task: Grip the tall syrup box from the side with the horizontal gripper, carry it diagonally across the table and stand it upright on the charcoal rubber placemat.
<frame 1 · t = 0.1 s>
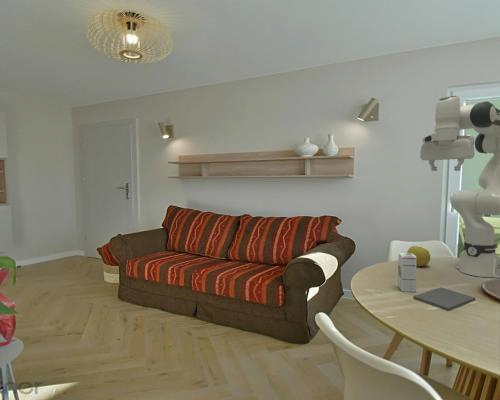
hand: (445, 170, 137), 48 cm above the table, tool pointing down, fingers open, 8 cm apart
syrup box: (406, 289, 136), on the table
placemat: (444, 299, 125), on the table
fruit: (418, 266, 169), on the table
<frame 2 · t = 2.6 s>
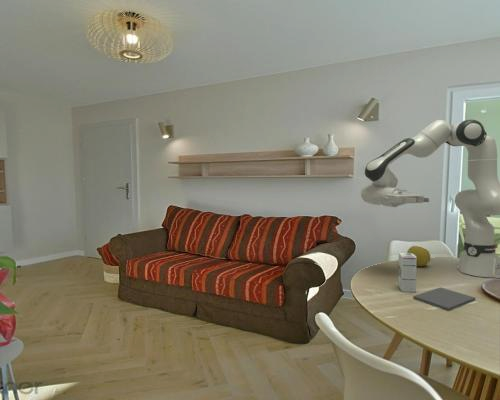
hand: (422, 200, 141), 36 cm above the table, tool horizontal, fingers open, 8 cm apart
nothing on the table moved.
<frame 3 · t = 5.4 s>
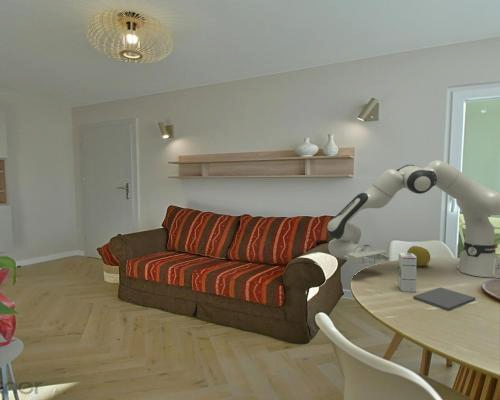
hand: (381, 260, 145), 9 cm above the table, tool horizontal, fingers open, 8 cm apart
nothing on the table moved.
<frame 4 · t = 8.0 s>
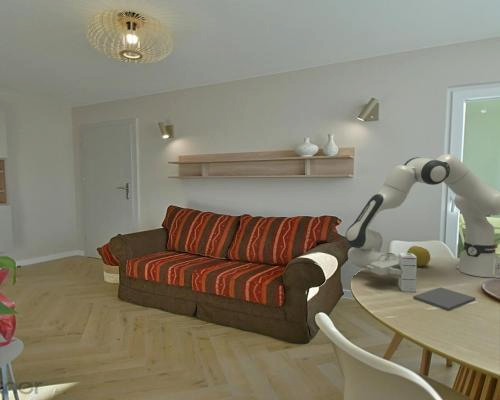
hand: (408, 270, 135), 8 cm above the table, tool horizontal, fingers open, 8 cm apart
syrup box: (406, 289, 136), on the table, touching gripper
everything else where it was.
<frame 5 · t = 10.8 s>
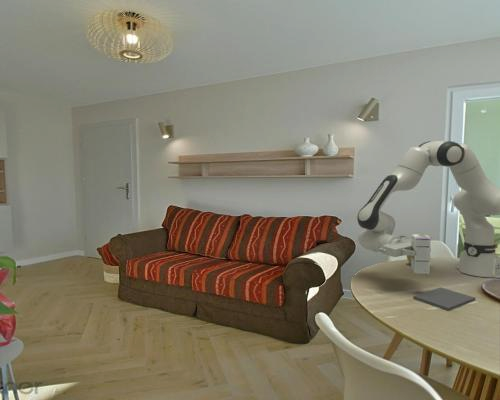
hand: (422, 252, 130), 16 cm above the table, tool horizontal, fingers closed on syrup box, 8 cm apart
syrup box: (419, 272, 131), point 8 cm above the table, touching gripper
everything else where it was.
when the fingers open (10 cm above the table, at t = 13.4 s): syrup box drops 1 cm, resting on placemat.
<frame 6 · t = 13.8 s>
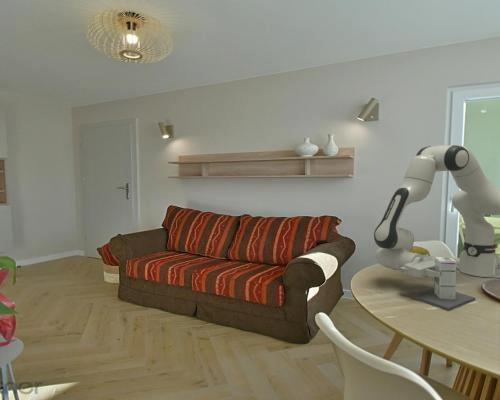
hand: (447, 272, 123), 10 cm above the table, tool horizontal, fingers open, 8 cm apart
syrup box: (444, 297, 125), point 1 cm above the table, touching placemat
everything else where it was.
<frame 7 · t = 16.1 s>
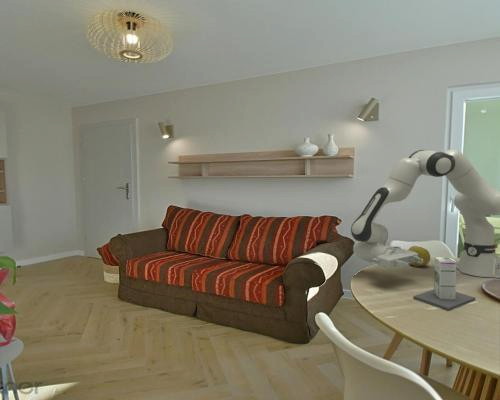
hand: (415, 263, 134), 11 cm above the table, tool horizontal, fingers open, 8 cm apart
nothing on the table moved.
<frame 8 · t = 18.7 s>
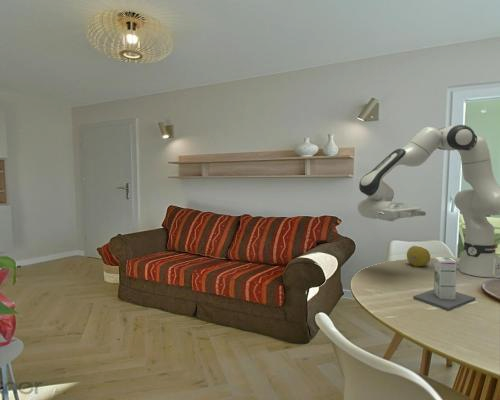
hand: (418, 214, 138), 30 cm above the table, tool horizontal, fingers open, 8 cm apart
nothing on the table moved.
at the end: syrup box inside the target area on the placemat (0.0 cm from its centre), point 0.8 cm above the placemat's base; syrup box tilted 0°; the gripper is holding nothing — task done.
